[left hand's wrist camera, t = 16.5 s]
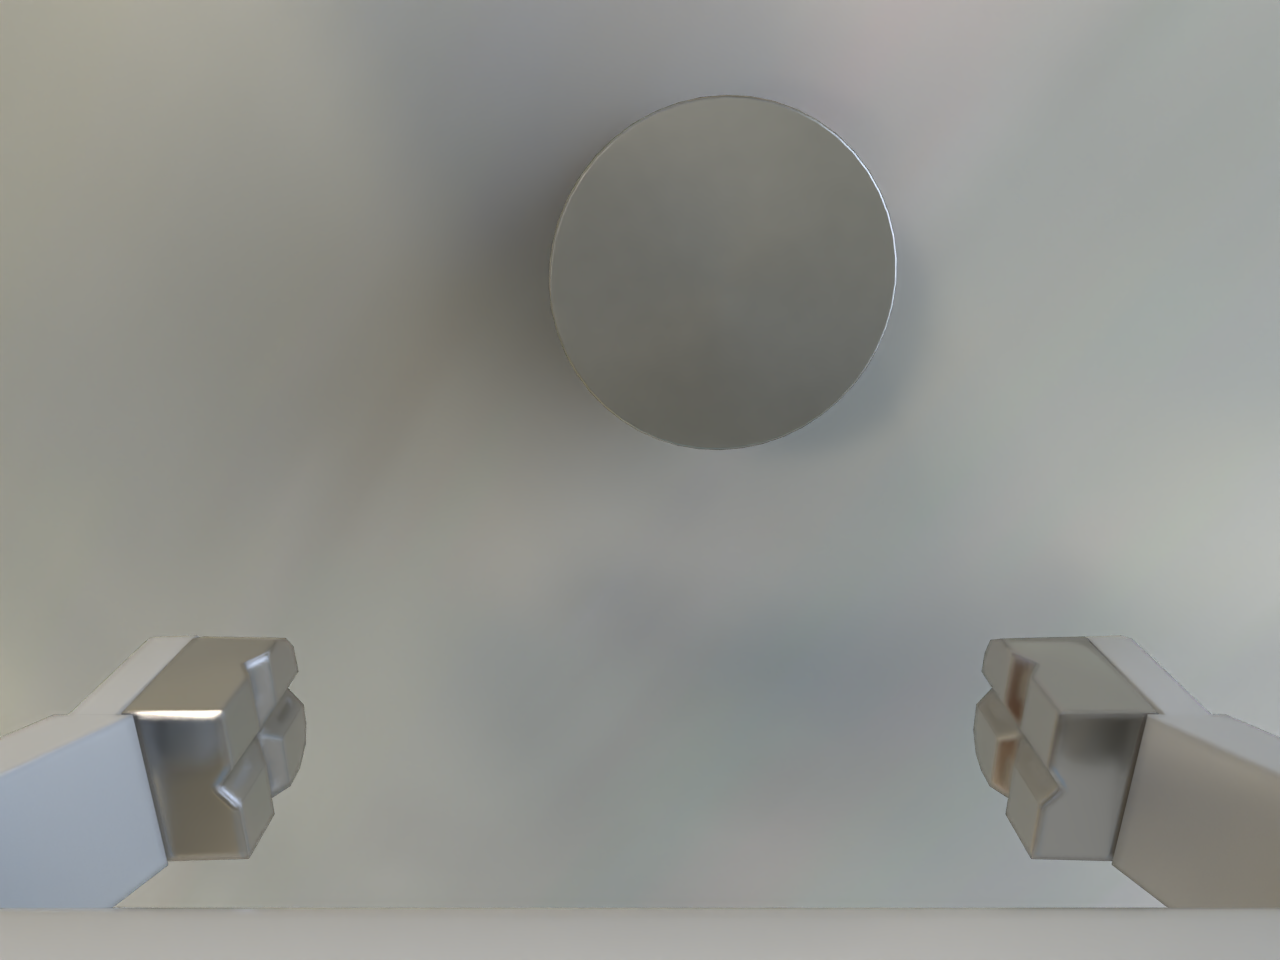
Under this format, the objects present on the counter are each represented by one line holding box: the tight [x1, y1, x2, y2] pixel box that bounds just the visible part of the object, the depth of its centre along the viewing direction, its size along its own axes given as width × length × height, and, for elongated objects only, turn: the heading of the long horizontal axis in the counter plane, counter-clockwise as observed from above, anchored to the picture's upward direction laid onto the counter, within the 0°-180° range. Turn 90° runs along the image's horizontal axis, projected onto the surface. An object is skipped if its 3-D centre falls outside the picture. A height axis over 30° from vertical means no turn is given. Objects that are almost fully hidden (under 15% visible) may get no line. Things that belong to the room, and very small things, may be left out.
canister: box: [549, 95, 897, 450], centre depth 14 cm, size 5×5×4 cm
